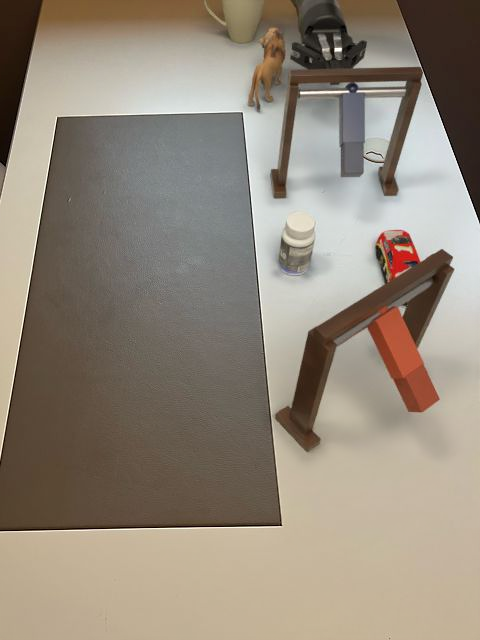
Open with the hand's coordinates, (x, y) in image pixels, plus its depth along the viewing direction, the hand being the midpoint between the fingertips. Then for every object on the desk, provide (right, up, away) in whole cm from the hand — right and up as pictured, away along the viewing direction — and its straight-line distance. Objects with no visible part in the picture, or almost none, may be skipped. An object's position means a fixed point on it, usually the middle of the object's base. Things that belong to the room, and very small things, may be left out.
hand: (336, 79), depth 98 cm
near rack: (-3, -49, -19) cm, 53 cm away
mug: (-13, +24, +32) cm, 42 cm away
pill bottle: (-8, -30, -5) cm, 32 cm away
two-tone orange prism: (+3, -50, -30) cm, 59 cm away
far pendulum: (0, -18, -8) cm, 19 cm away
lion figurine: (-9, +8, +21) cm, 24 cm away
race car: (+7, -32, -7) cm, 33 cm away
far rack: (0, -15, +5) cm, 16 cm away
